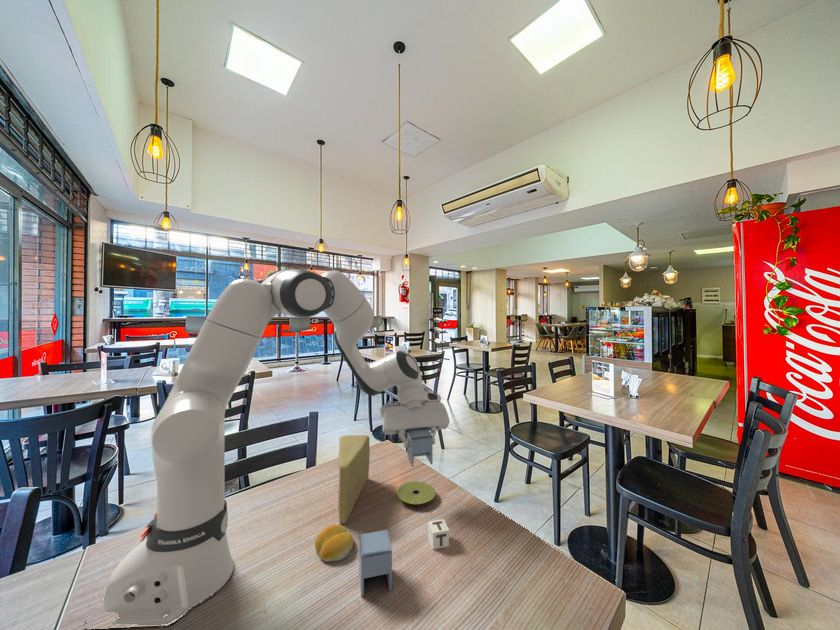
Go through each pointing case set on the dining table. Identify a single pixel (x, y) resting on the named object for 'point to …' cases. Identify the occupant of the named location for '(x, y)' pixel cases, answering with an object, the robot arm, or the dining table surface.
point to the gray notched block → (375, 557)
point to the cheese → (352, 472)
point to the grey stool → (419, 444)
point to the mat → (416, 492)
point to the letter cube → (438, 534)
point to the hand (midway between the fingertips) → (420, 445)
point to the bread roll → (334, 543)
